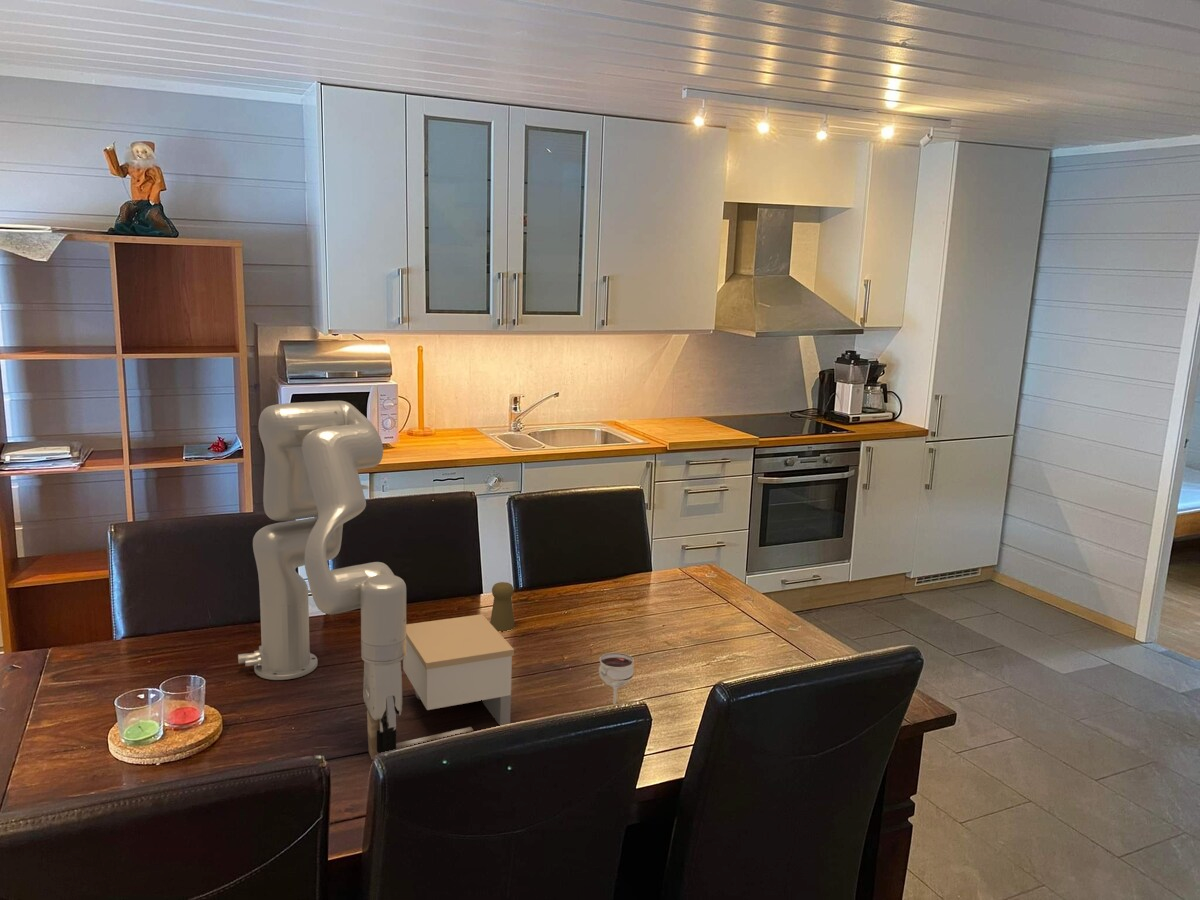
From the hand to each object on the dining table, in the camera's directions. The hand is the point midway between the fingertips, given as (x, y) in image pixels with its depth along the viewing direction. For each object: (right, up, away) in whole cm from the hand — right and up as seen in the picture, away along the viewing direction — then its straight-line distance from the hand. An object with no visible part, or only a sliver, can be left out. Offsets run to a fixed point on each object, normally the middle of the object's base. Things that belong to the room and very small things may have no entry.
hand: (384, 744), depth 153 cm
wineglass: (+41, 0, +16) cm, 44 cm away
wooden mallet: (+6, -1, +3) cm, 7 cm away
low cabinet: (+10, +1, +17) cm, 19 cm away
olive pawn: (+14, +9, +58) cm, 60 cm away
